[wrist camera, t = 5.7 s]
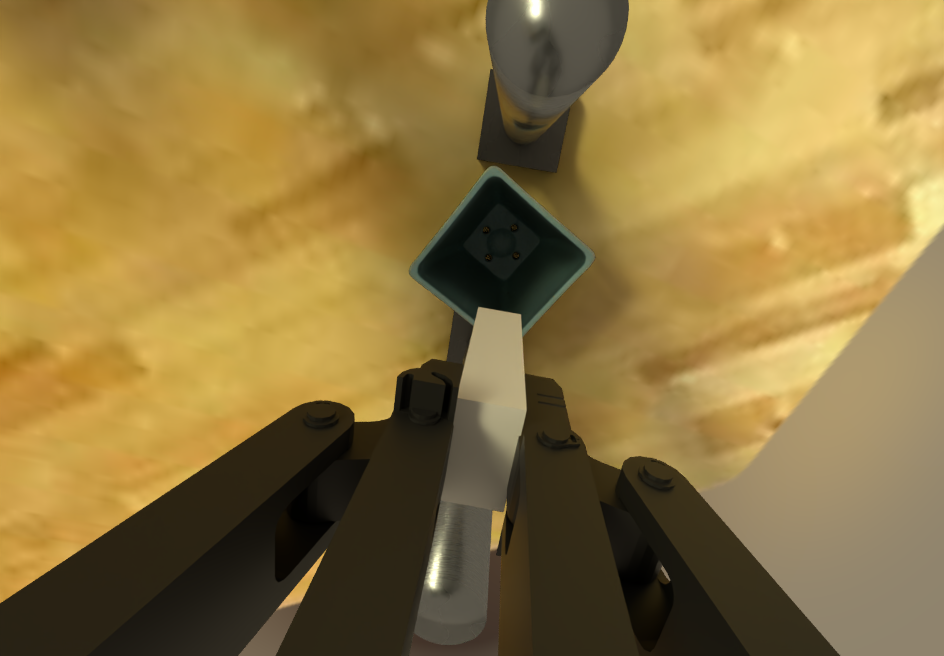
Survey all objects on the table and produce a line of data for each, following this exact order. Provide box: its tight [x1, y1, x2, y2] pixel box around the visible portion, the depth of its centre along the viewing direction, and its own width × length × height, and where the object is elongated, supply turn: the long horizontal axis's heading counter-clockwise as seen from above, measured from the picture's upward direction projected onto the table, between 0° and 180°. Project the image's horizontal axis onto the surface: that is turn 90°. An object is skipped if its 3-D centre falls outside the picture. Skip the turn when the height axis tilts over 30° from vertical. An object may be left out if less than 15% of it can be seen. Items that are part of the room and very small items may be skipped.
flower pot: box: [409, 166, 595, 337], centre depth 33 cm, size 9×9×9 cm
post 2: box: [477, 0, 629, 173], centre depth 22 cm, size 6×6×26 cm
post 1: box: [414, 311, 492, 645], centre depth 28 cm, size 6×6×26 cm
